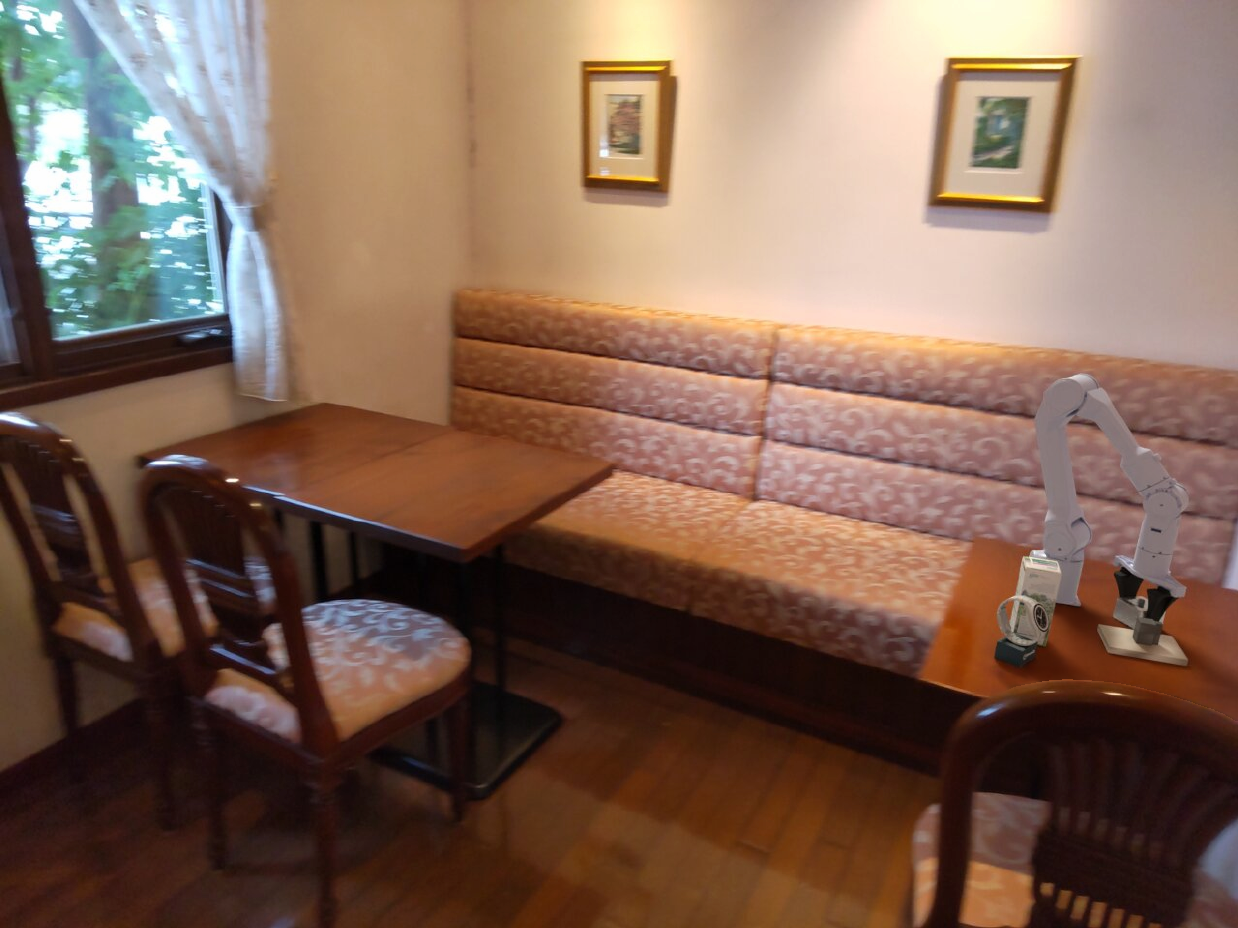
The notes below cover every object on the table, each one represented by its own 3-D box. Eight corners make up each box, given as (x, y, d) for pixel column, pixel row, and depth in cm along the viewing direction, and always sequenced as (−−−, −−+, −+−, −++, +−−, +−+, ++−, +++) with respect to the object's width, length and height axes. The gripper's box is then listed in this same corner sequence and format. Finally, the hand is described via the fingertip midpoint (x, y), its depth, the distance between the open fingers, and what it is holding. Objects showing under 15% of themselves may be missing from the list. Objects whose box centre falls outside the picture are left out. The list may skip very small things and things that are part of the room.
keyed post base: (1108, 652, 148) (1114, 625, 147) (1097, 630, 156) (1103, 604, 155) (1186, 666, 145) (1193, 638, 143) (1171, 642, 153) (1177, 616, 151)
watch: (1030, 672, 140) (1043, 612, 137) (984, 653, 146) (995, 594, 143) (1046, 662, 144) (1058, 603, 140) (999, 643, 149) (1011, 586, 146)
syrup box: (1042, 633, 154) (1057, 559, 150) (1046, 648, 149) (1062, 571, 144) (1008, 627, 156) (1022, 553, 151) (1011, 641, 150) (1026, 565, 146)
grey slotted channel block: (1135, 630, 157) (1140, 610, 156) (1112, 616, 162) (1117, 597, 161) (1161, 628, 158) (1166, 609, 157) (1137, 615, 163) (1142, 596, 162)
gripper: (1207, 563, 150) (1188, 632, 154) (1142, 533, 163) (1126, 597, 167) (1173, 565, 148) (1155, 635, 152) (1110, 534, 162) (1096, 599, 166)
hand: (1138, 615), depth 160 cm, fingers closed on grey slotted channel block, 6 cm apart
